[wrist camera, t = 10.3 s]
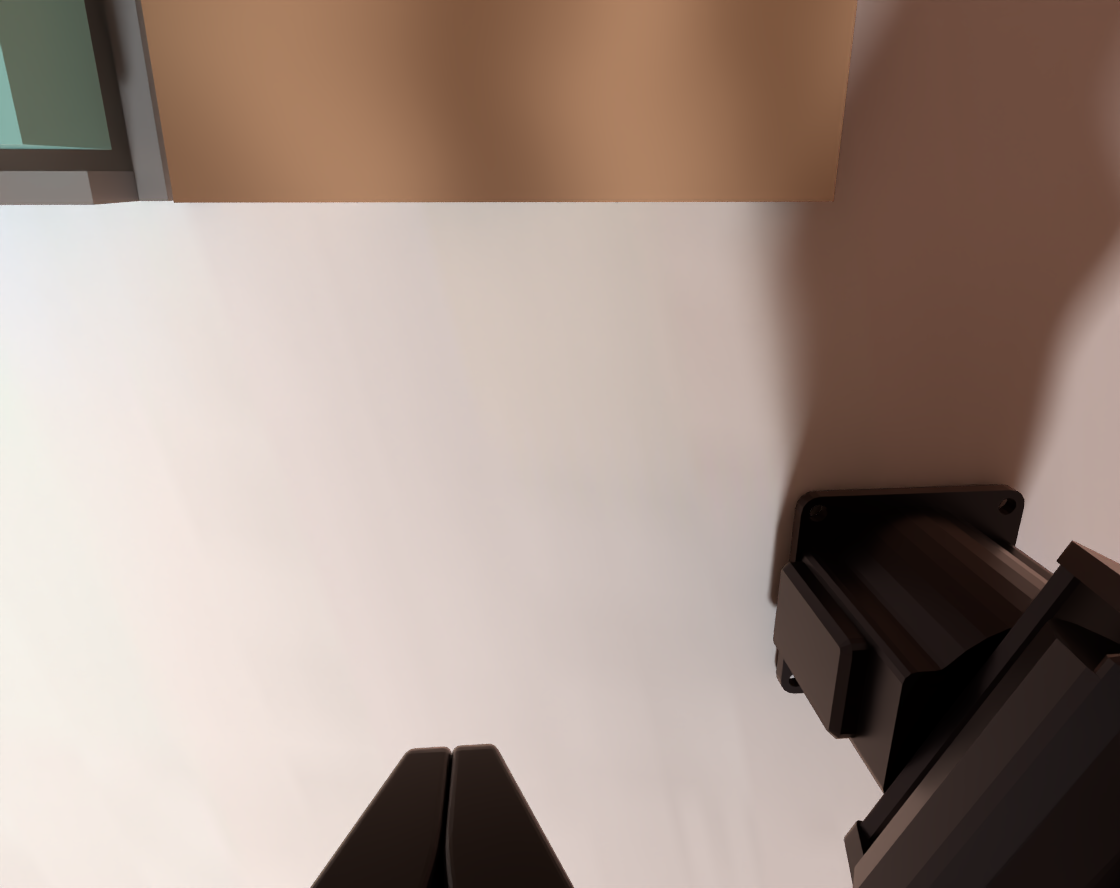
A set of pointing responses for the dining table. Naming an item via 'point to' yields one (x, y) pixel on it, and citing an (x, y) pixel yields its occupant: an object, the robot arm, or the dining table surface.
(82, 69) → the long mint beam
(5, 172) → the box
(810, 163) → the walnut board
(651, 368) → the dining table surface
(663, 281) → the dining table surface
